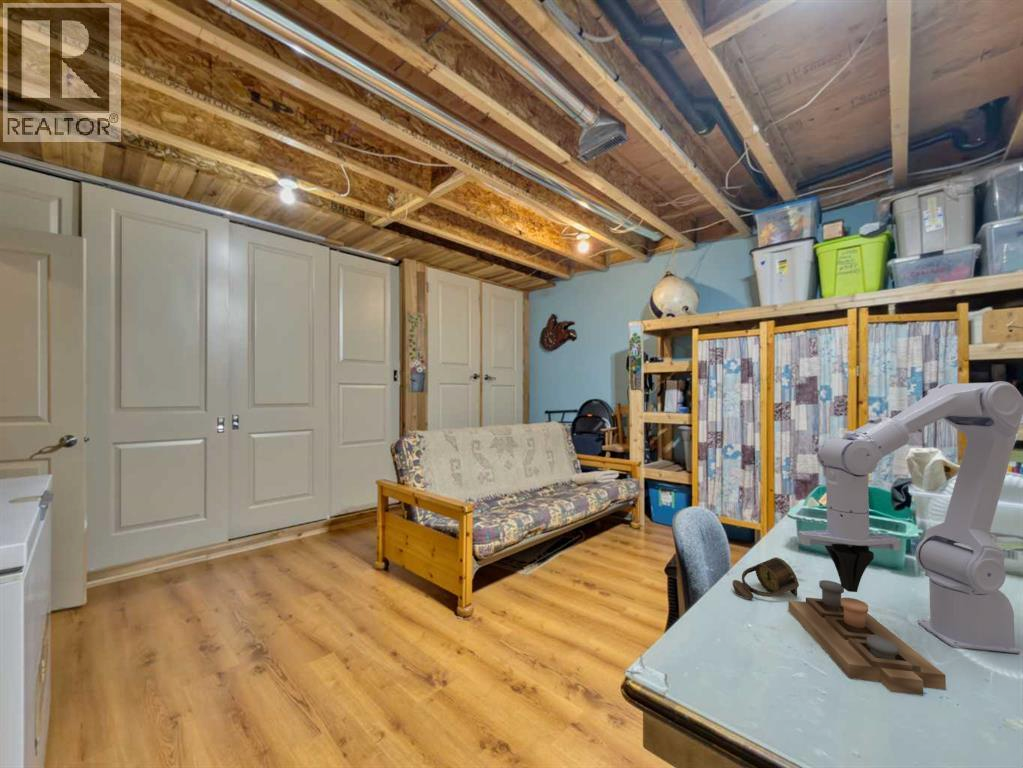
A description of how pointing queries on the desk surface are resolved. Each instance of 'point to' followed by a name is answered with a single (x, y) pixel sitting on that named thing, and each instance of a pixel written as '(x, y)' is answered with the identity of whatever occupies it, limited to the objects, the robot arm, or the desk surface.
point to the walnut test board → (865, 649)
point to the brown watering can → (769, 579)
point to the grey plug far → (831, 593)
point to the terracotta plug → (854, 612)
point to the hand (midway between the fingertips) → (849, 589)
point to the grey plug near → (882, 647)
